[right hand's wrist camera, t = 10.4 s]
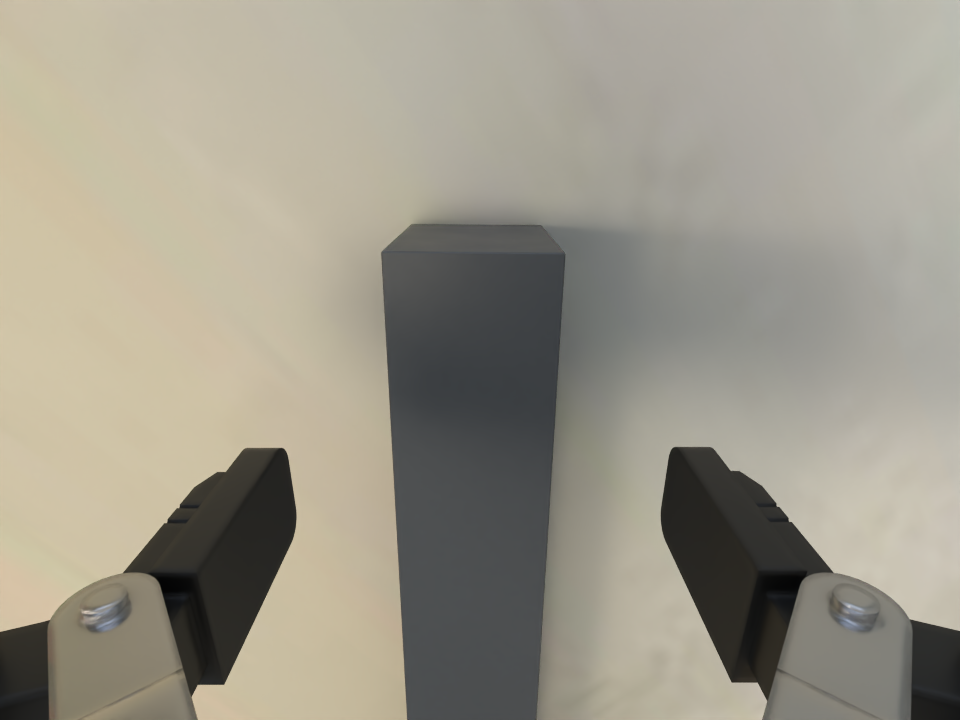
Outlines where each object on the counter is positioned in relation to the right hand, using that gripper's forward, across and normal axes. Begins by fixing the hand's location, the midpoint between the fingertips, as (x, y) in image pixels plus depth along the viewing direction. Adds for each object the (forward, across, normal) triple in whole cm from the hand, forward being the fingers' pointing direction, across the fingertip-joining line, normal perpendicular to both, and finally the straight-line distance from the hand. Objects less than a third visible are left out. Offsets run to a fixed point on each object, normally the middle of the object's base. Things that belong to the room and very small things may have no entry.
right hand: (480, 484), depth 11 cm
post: (+10, 0, -34) cm, 35 cm away
